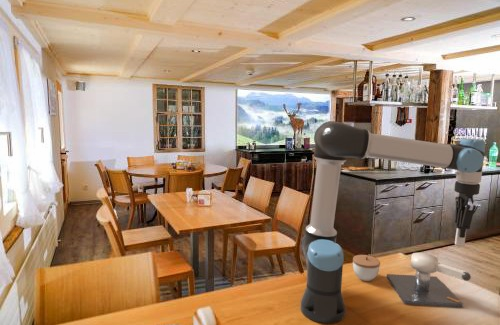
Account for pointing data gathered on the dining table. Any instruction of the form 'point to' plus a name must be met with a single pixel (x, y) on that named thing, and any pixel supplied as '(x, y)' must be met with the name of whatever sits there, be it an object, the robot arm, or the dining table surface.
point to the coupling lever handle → (435, 266)
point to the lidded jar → (366, 267)
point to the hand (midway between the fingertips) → (459, 244)
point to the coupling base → (422, 296)
